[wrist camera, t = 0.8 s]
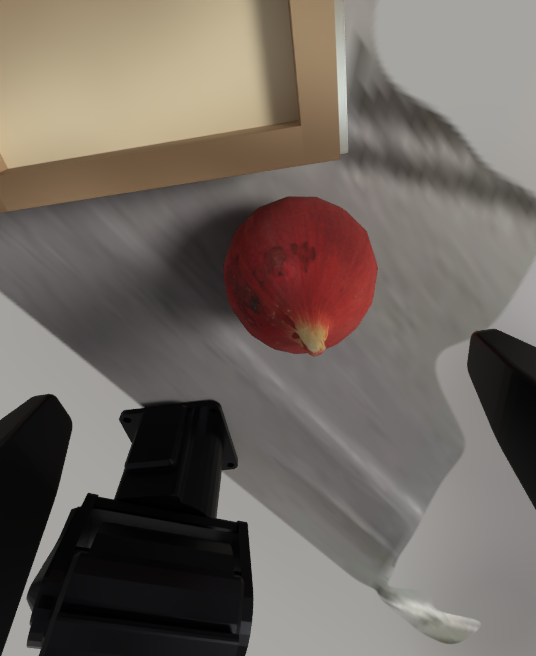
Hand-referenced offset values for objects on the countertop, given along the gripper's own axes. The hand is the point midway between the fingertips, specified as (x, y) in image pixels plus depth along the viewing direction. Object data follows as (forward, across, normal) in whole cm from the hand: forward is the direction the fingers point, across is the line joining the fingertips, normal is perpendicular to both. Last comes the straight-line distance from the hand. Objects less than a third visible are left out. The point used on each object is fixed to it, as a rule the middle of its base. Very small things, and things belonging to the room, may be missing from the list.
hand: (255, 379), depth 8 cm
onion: (+11, -1, +2) cm, 11 cm away
